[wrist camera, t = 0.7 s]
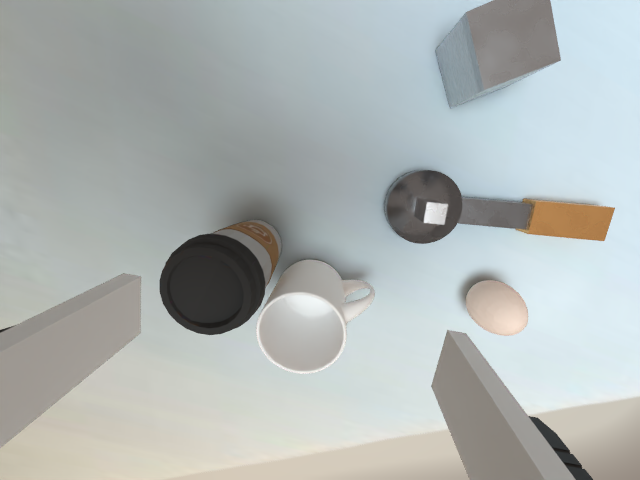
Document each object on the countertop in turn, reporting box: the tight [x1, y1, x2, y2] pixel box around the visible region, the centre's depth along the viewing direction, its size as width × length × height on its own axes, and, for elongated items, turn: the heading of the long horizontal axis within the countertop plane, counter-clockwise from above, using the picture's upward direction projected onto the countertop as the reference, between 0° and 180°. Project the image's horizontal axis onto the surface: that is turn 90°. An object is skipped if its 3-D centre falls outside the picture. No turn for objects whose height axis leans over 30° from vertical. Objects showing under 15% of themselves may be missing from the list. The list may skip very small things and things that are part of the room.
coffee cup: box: [160, 220, 282, 335], centre depth 30 cm, size 8×8×15 cm
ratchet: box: [384, 170, 615, 244], centre depth 32 cm, size 8×24×6 cm, turn 85°
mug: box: [256, 260, 375, 374], centre depth 33 cm, size 9×12×11 cm
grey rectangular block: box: [435, 0, 561, 108], centre depth 28 cm, size 6×6×8 cm
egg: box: [466, 280, 528, 336], centre depth 33 cm, size 6×6×8 cm
